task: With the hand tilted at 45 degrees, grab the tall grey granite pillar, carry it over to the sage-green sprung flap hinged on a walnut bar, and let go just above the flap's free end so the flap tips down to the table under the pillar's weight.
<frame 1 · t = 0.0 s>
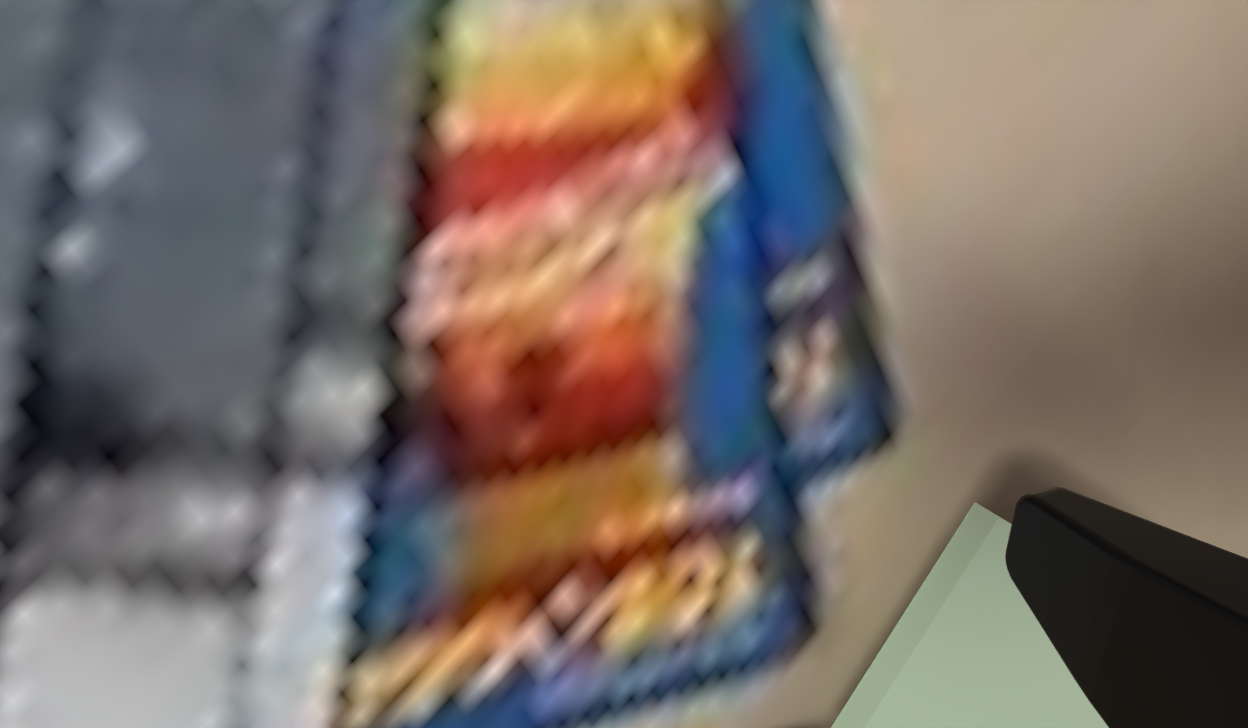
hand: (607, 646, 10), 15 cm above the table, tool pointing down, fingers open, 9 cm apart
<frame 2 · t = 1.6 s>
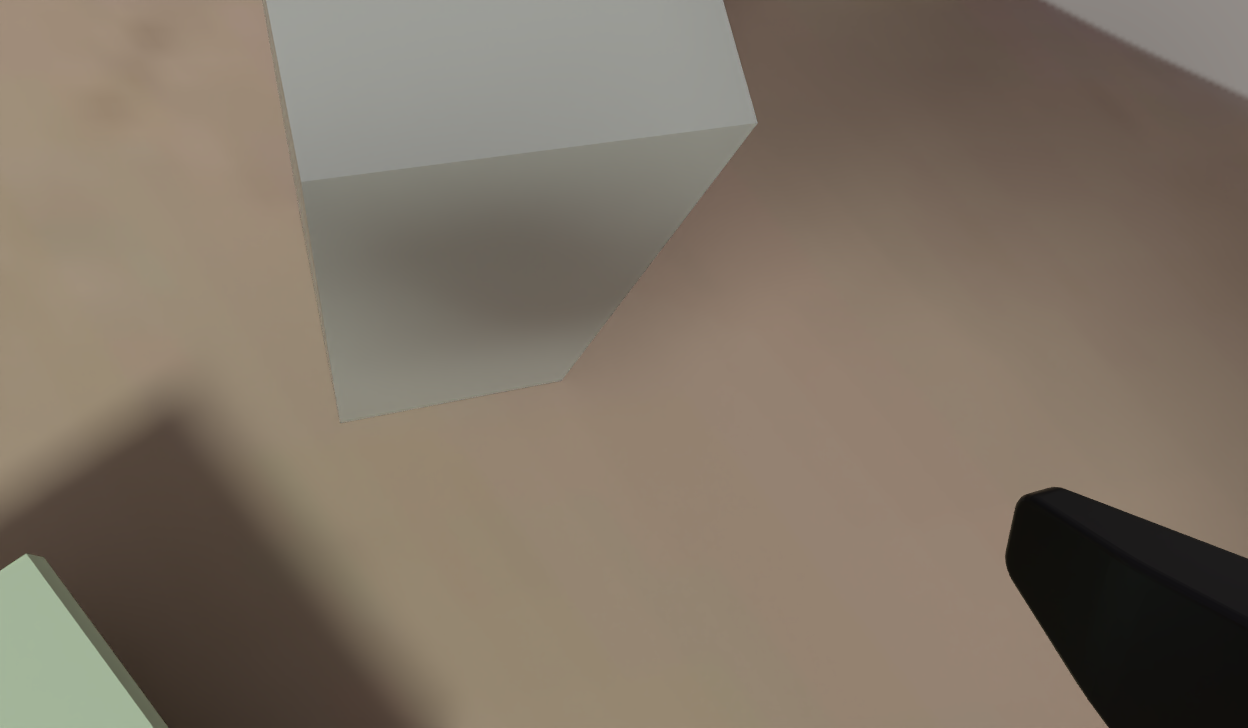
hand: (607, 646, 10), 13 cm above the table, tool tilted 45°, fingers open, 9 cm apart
block: (431, 295, 24), on the table
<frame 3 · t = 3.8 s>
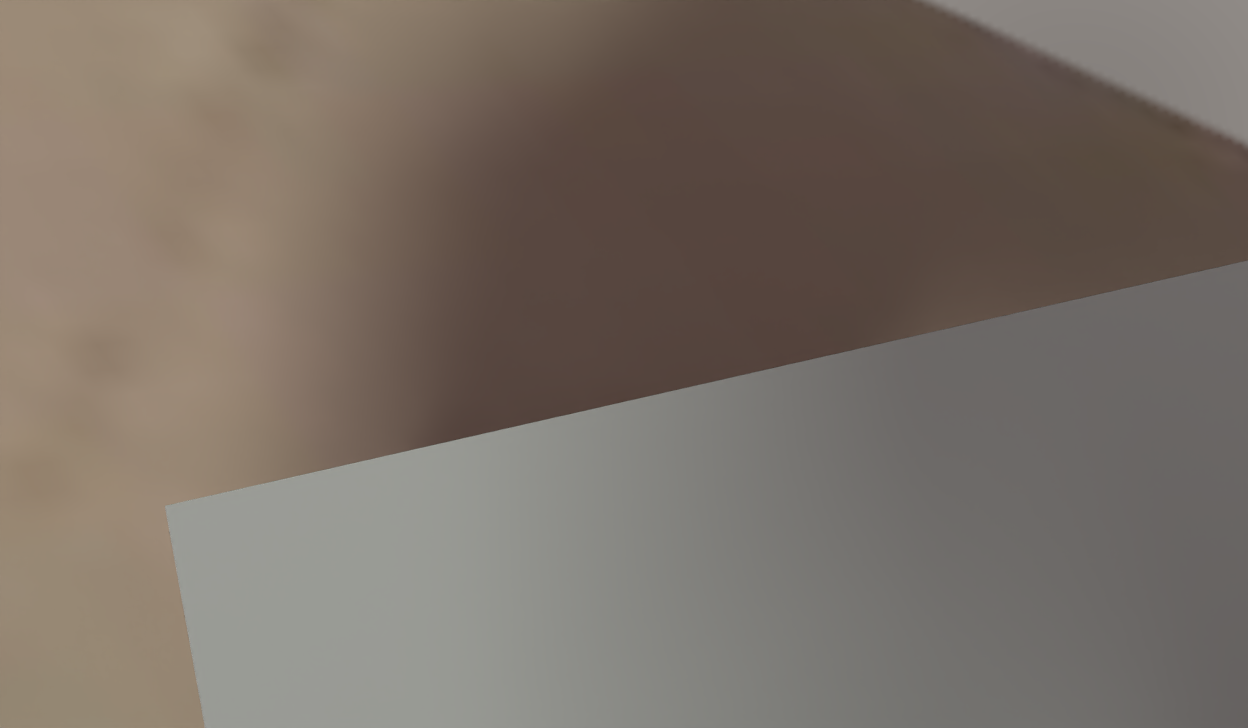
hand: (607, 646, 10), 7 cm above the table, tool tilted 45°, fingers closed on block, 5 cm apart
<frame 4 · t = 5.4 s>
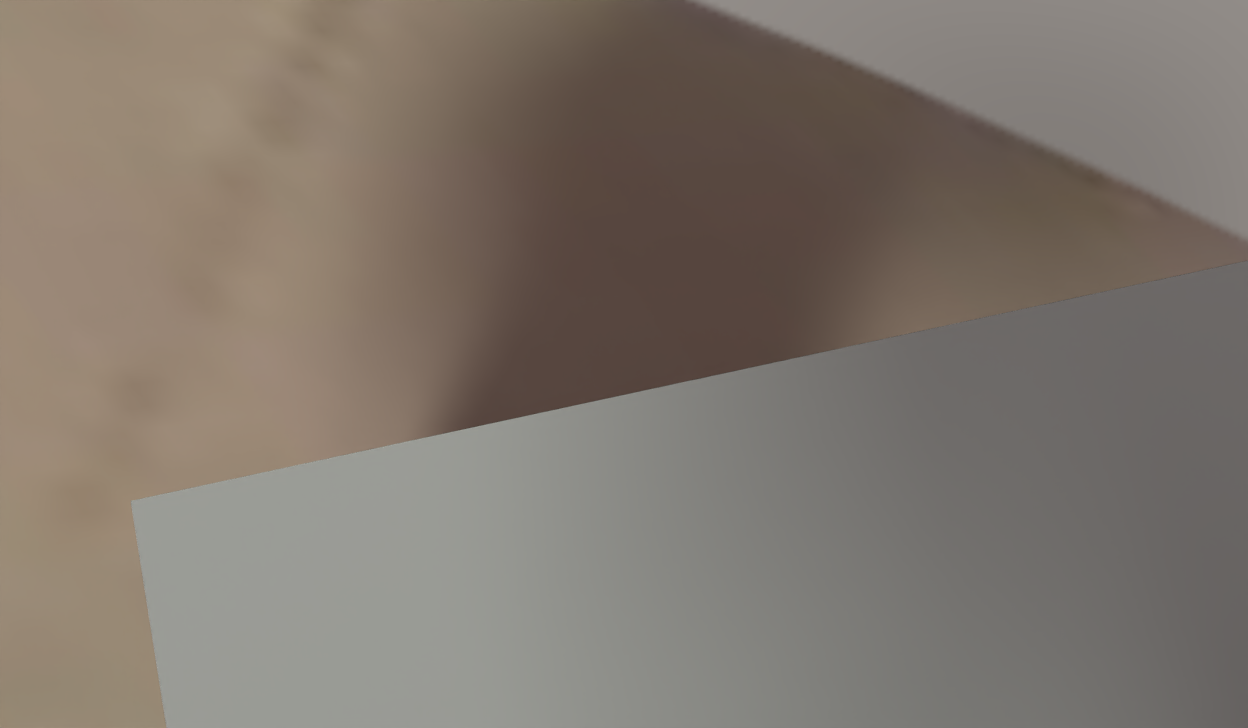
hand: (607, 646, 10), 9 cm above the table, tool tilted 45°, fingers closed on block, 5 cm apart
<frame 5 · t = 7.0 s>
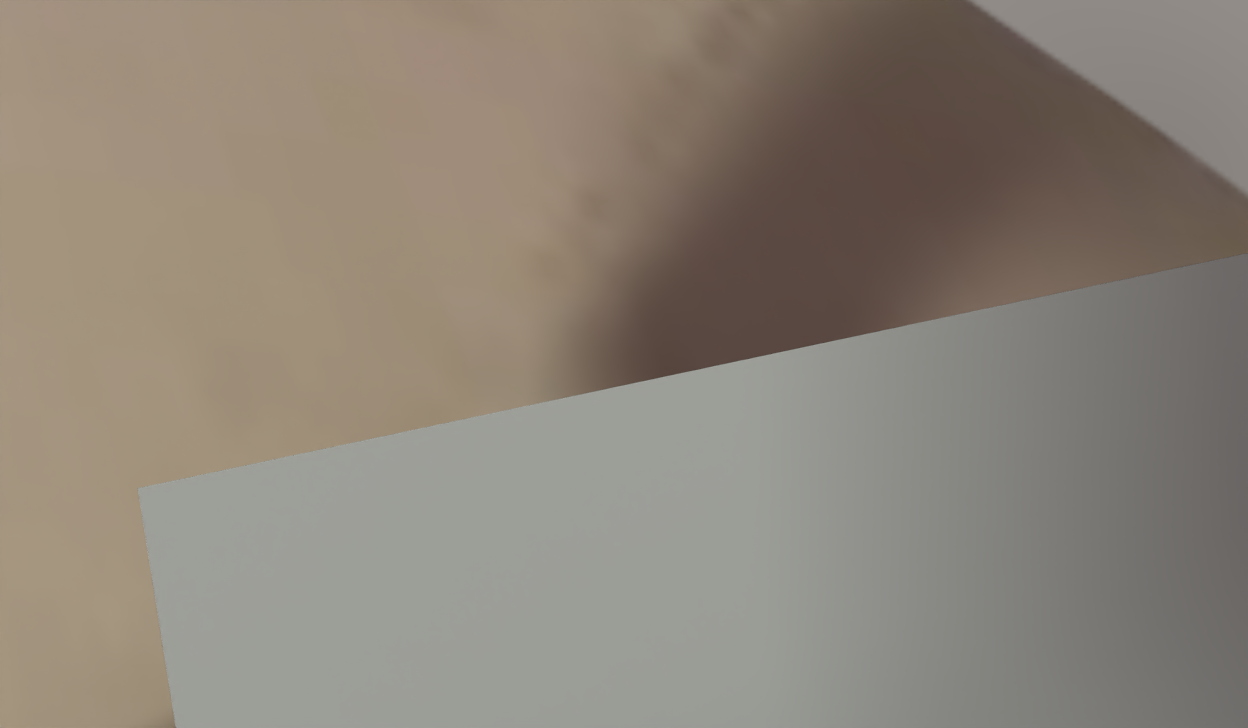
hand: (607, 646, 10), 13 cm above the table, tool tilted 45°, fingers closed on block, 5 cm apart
when the fingers open (11 cm above the table, at t = 8.9 s): block drops 3 cm, point 2 cm above the table.
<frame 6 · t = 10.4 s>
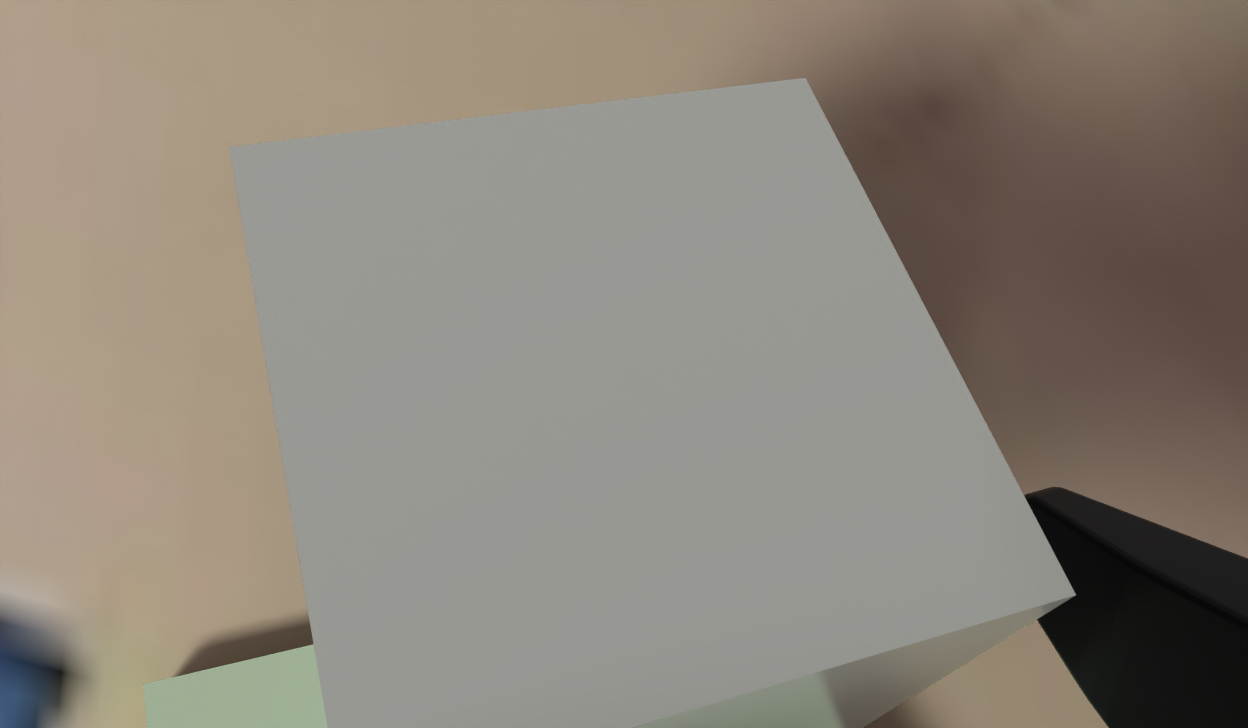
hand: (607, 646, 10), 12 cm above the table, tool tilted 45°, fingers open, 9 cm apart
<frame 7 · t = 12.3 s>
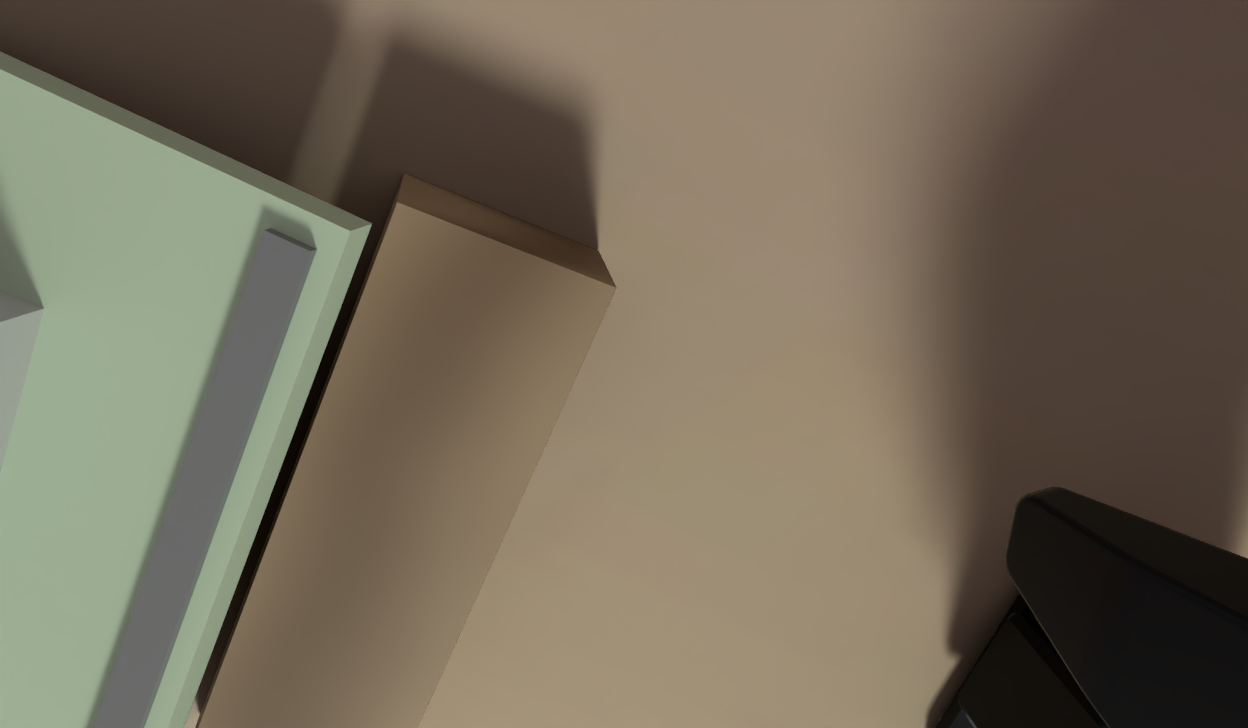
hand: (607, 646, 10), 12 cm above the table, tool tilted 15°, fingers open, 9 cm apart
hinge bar: (387, 496, 22), on the table
trapdoor: (10, 430, 18), point 2 cm above the table, hinge at -16.1°, touching block
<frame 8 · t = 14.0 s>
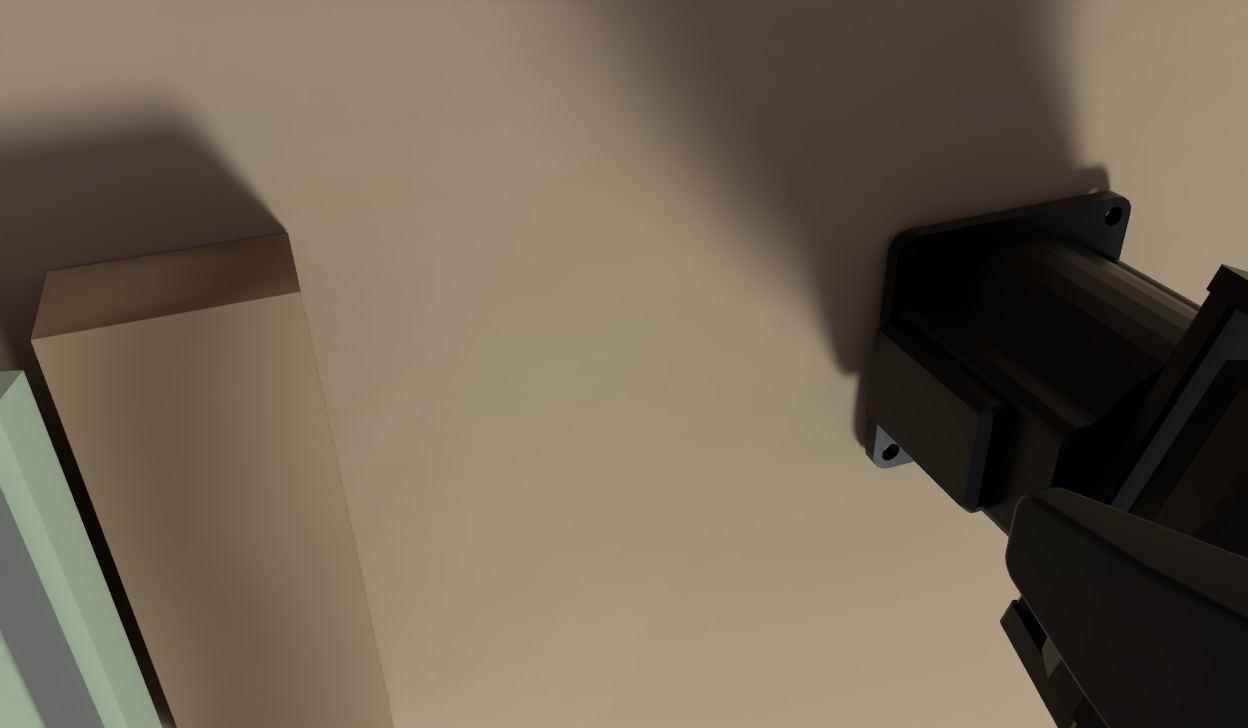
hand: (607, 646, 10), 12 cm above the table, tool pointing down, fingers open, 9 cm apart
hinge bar: (250, 533, 22), on the table
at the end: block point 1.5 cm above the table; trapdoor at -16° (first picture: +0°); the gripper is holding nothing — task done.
